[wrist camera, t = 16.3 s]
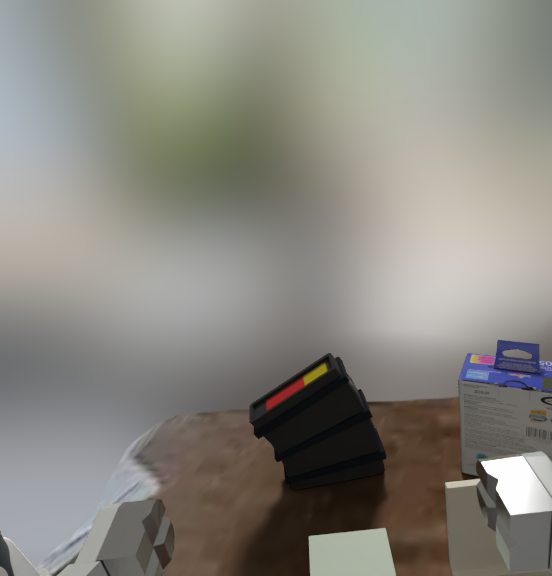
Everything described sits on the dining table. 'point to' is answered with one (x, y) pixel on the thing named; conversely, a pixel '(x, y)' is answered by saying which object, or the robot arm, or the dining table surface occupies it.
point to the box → (351, 554)
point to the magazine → (319, 427)
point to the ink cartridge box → (504, 405)
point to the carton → (473, 536)
